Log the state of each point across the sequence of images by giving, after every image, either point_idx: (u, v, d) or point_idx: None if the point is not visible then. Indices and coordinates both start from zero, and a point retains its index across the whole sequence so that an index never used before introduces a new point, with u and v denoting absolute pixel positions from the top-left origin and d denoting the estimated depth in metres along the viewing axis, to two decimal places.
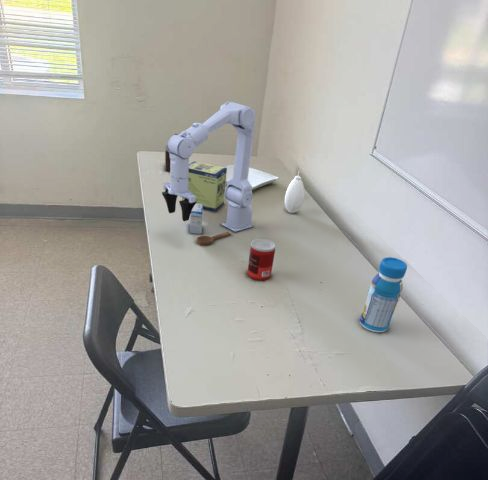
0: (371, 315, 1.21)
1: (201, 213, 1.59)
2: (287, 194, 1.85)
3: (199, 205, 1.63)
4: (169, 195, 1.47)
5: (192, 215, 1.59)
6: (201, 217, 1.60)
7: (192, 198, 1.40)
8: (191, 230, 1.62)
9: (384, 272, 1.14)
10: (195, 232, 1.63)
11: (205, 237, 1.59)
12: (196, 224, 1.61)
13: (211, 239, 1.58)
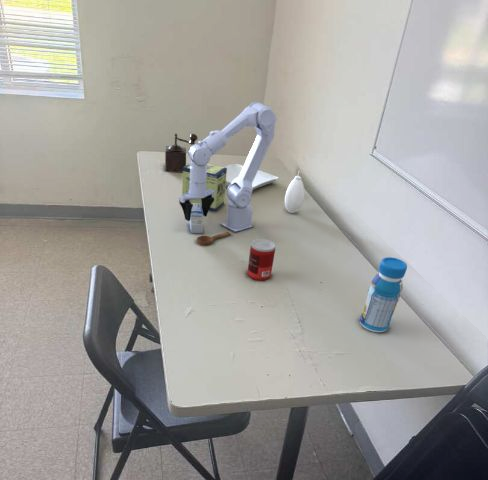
0: (371, 315, 1.21)
1: (201, 212, 1.59)
2: (287, 194, 1.85)
3: (198, 204, 1.63)
4: (203, 198, 1.63)
5: (192, 215, 1.59)
6: (201, 216, 1.60)
7: (180, 197, 1.54)
8: (192, 230, 1.62)
9: (384, 272, 1.14)
10: (196, 232, 1.63)
11: (205, 237, 1.59)
12: (197, 224, 1.61)
13: (211, 239, 1.58)
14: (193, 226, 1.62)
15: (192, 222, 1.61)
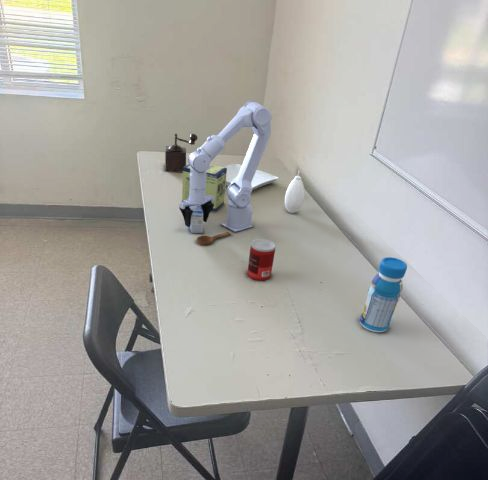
0: (371, 315, 1.21)
1: (201, 212, 1.59)
2: (287, 194, 1.85)
3: None
4: (202, 204, 1.64)
5: (193, 215, 1.59)
6: (202, 216, 1.60)
7: (180, 204, 1.56)
8: (192, 230, 1.62)
9: (384, 272, 1.14)
10: (196, 232, 1.63)
11: (205, 237, 1.59)
12: (198, 224, 1.61)
13: (211, 239, 1.58)
14: (193, 226, 1.62)
15: (192, 222, 1.61)
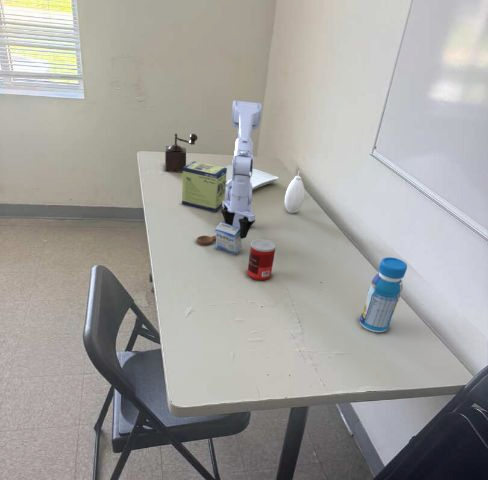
0: (371, 315, 1.21)
1: None
2: (287, 194, 1.85)
3: (223, 224, 1.50)
4: (228, 212, 1.49)
5: (236, 237, 1.48)
6: None
7: (252, 217, 1.42)
8: (236, 251, 1.52)
9: (384, 272, 1.14)
10: (238, 249, 1.54)
11: (205, 237, 1.59)
12: (239, 242, 1.51)
13: (211, 239, 1.58)
14: (237, 247, 1.51)
15: (236, 244, 1.50)
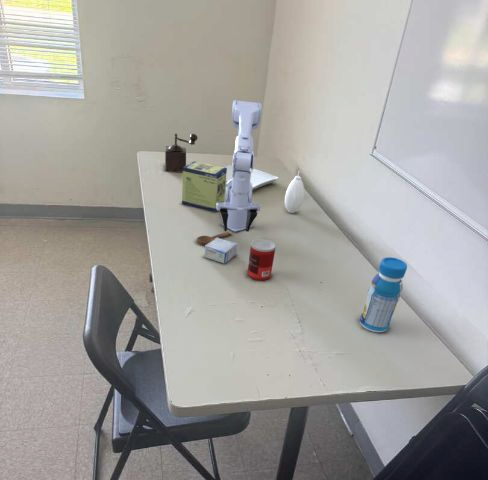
0: (371, 315, 1.21)
1: (226, 253, 1.45)
2: (287, 194, 1.85)
3: (208, 250, 1.46)
4: (227, 213, 1.45)
5: (226, 260, 1.47)
6: (228, 251, 1.46)
7: None
8: (234, 254, 1.52)
9: (384, 272, 1.14)
10: (235, 249, 1.51)
11: (205, 237, 1.59)
12: (232, 252, 1.49)
13: (211, 239, 1.58)
14: (232, 255, 1.50)
15: (230, 257, 1.49)
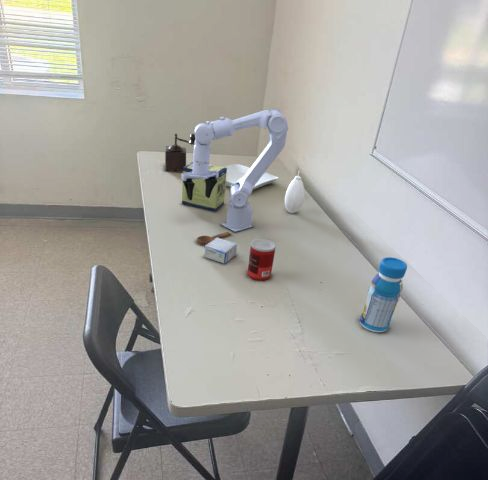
0: (371, 315, 1.21)
1: (226, 253, 1.45)
2: (287, 194, 1.85)
3: (208, 250, 1.46)
4: None
5: (226, 260, 1.47)
6: (228, 251, 1.46)
7: None
8: (234, 254, 1.52)
9: (384, 272, 1.14)
10: (235, 249, 1.51)
11: (205, 237, 1.59)
12: (232, 252, 1.49)
13: (211, 239, 1.58)
14: (232, 255, 1.50)
15: (230, 257, 1.49)
